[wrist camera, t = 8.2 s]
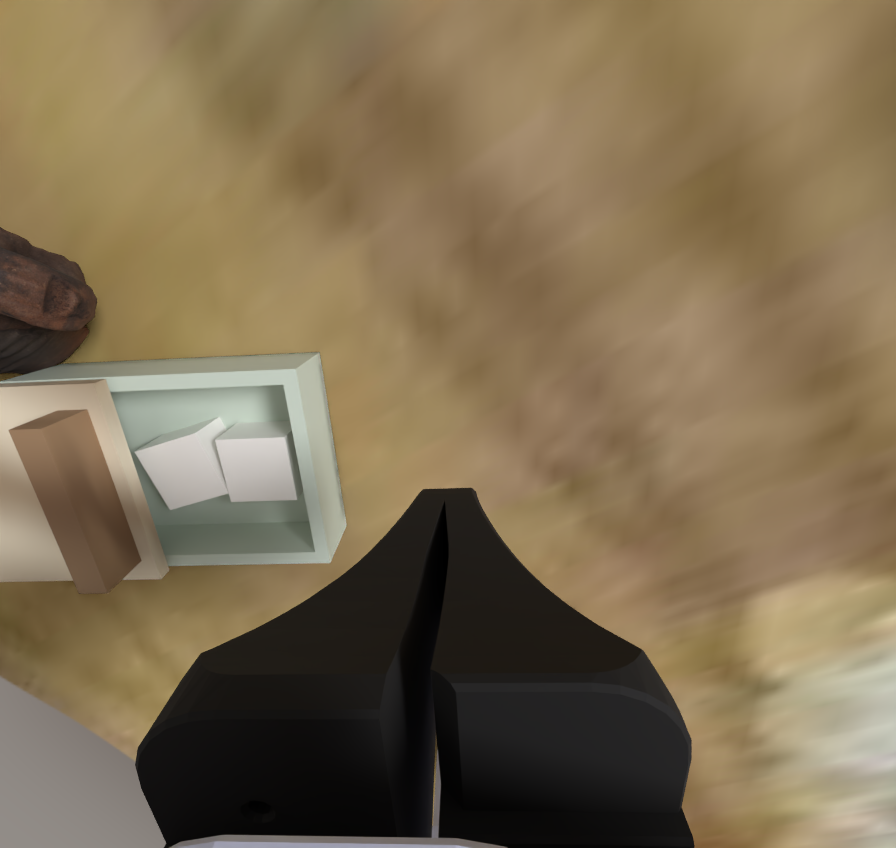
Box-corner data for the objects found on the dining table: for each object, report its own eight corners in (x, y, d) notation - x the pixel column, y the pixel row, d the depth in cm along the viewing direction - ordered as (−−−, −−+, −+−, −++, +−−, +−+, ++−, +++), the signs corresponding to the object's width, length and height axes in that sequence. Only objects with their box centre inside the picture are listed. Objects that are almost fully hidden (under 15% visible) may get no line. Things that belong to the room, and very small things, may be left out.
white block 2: (311, 478, 22) (297, 500, 20) (250, 480, 22) (230, 501, 20) (300, 420, 21) (284, 437, 19) (237, 422, 21) (214, 439, 19)
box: (346, 525, 23) (330, 562, 21) (122, 530, 24) (77, 567, 21) (319, 352, 20) (295, 368, 17) (62, 363, 21) (-1, 381, 18)
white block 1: (249, 472, 22) (228, 493, 20) (194, 488, 22) (169, 510, 20) (219, 416, 21) (195, 433, 19) (163, 434, 21) (134, 452, 19)
